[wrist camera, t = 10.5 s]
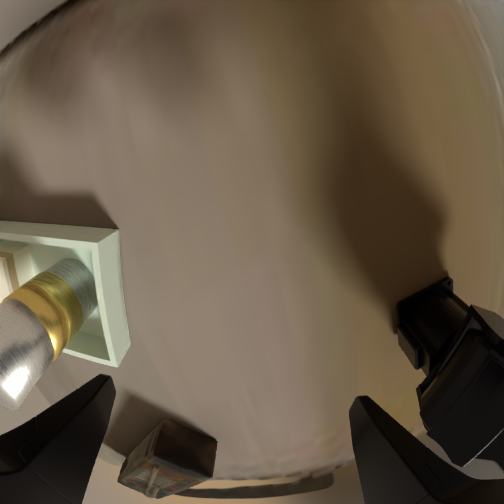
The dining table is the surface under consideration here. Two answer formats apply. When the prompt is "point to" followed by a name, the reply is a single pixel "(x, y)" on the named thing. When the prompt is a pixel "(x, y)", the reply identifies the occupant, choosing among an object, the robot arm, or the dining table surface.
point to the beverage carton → (169, 461)
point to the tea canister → (41, 325)
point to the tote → (105, 274)
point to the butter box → (14, 267)
